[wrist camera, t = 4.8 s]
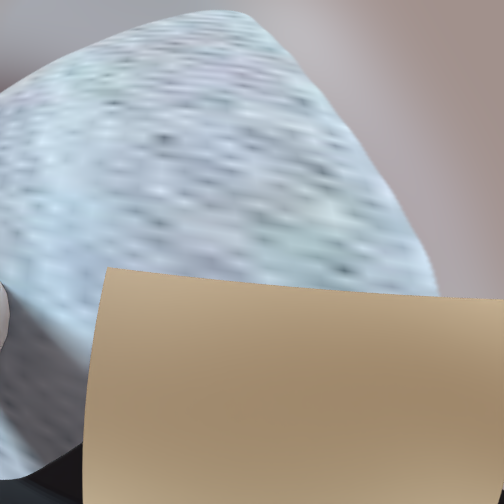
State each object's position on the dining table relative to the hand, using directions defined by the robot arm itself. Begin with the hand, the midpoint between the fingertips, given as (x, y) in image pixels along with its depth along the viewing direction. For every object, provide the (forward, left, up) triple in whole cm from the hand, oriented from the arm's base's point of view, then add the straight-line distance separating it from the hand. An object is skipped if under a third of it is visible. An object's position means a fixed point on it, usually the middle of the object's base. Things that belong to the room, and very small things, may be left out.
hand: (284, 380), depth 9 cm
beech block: (-1, +1, -6) cm, 6 cm away
